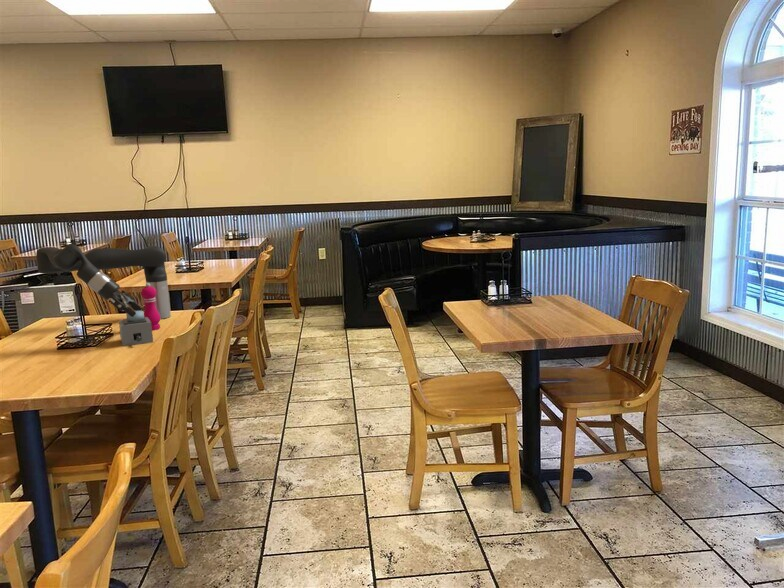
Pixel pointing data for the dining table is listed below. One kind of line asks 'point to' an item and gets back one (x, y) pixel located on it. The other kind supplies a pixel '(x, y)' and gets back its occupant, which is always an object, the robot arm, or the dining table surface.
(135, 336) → the plunger
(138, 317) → the peg
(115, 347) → the dining table surface
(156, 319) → the pepper mill
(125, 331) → the grey block
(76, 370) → the dining table surface
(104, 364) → the dining table surface
